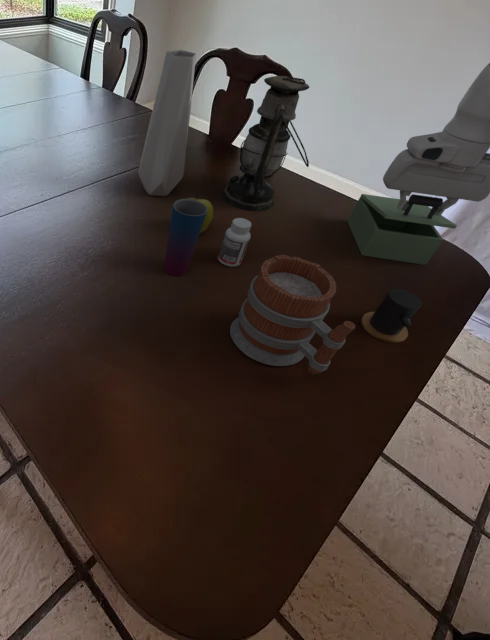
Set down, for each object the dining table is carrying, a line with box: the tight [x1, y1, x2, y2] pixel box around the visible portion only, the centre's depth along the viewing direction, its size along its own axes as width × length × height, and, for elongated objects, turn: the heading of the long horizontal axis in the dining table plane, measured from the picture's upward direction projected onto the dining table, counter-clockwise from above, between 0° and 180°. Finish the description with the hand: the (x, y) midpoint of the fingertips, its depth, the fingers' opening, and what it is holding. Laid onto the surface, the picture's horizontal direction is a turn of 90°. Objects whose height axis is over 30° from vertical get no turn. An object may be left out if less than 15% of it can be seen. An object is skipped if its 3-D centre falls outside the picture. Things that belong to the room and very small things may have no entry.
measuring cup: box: [370, 288, 422, 335], centre depth 83 cm, size 8×6×7 cm
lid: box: [359, 193, 458, 229], centre depth 102 cm, size 18×15×5 cm
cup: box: [163, 198, 208, 277], centre depth 92 cm, size 7×7×15 cm
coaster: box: [360, 311, 409, 344], centre depth 87 cm, size 8×8×1 cm
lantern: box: [220, 75, 310, 212], centre depth 112 cm, size 19×19×30 cm
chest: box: [346, 197, 445, 266], centre depth 108 cm, size 17×15×7 cm
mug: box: [229, 254, 356, 376], centre depth 76 cm, size 14×19×15 cm
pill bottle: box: [217, 217, 252, 268], centre depth 97 cm, size 5×5×10 cm
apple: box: [187, 193, 214, 234], centre depth 106 cm, size 8×8×10 cm
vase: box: [137, 49, 197, 197], centre depth 111 cm, size 12×12×33 cm
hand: (417, 211), depth 98 cm, fingers closed on lid, 6 cm apart
